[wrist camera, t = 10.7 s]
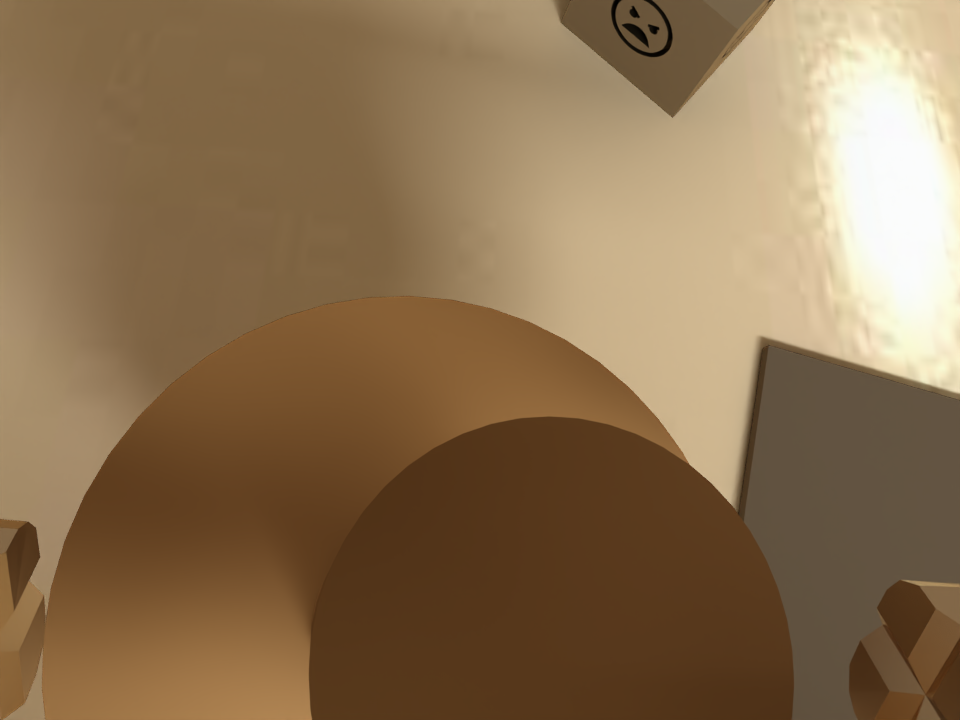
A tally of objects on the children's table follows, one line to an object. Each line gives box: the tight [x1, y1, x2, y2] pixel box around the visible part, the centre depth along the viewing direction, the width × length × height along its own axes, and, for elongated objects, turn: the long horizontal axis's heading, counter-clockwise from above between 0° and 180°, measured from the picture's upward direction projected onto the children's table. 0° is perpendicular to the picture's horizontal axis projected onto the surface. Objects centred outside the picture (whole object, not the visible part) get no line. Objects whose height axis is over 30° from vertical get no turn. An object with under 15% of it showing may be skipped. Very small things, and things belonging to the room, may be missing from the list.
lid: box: [42, 296, 794, 720], centre depth 11 cm, size 11×11×10 cm
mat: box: [739, 345, 960, 720], centre depth 28 cm, size 14×14×1 cm
